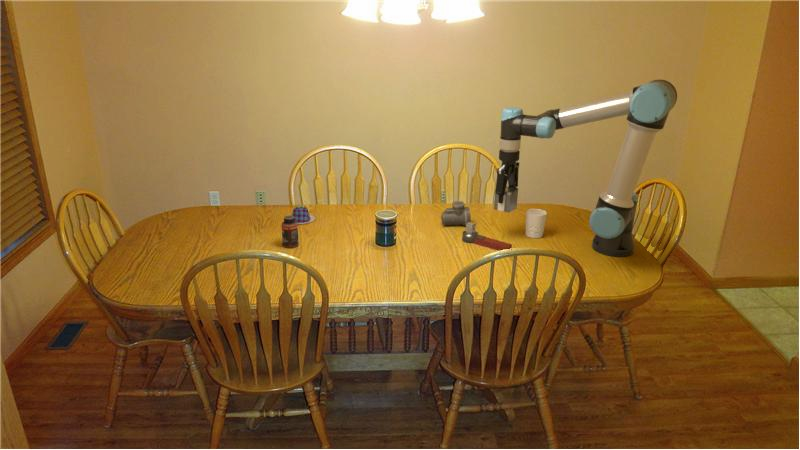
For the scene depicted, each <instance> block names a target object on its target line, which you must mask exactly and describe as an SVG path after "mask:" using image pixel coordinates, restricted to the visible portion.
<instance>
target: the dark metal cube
mask: <svg viewBox="0 0 800 450" xmlns="http://www.w3.org/2000/svg"><path fill="white" fill-rule="evenodd" d="M494 190H495V191H496V188H495V189H494ZM495 191H494V200H493V201H494V203H493V204H494V205H493V210H495V211H499V210H498V194H496V193H495ZM518 194H519V188H518V187H516V188H512V187H509V186H508V185H507V186H506V190H505V195H506V200H505V211H504V212H503V213H508V214H509V213H511V212H514V211H515V210H516V209H517V206H518V198H519V195H518Z"/></svg>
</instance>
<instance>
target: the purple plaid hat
mask: <svg viewBox="0 0 800 450" xmlns="http://www.w3.org/2000/svg"><path fill="white" fill-rule="evenodd" d="M291 216H294V217H295V221H296V222H297V224H298V225H303V224H308V223H312V222H314V221H315V220H316V217H315V216H314V215H313V214H310V212H309V209H308V207H306V206H296V207H293V209H292V214H291Z"/></svg>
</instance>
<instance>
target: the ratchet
mask: <svg viewBox="0 0 800 450" xmlns="http://www.w3.org/2000/svg"><path fill="white" fill-rule="evenodd" d="M476 225H477V224H476V222H472V221H471V222H468V223H467V224H466V226H465V230H463V231H462V235H461V236H462V237H461V241H462V242H464V243H467V244H474V245H477V246H481V247H485V248H488V249H491V250H495V251H498V250H503V249H510V248H512V249H513V244H512V243H509V242H506V241H501V240H497V239H495V238H492V237H487V236H485V235H482V234H479V232H478V231H476V228H477V227H476Z"/></svg>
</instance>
